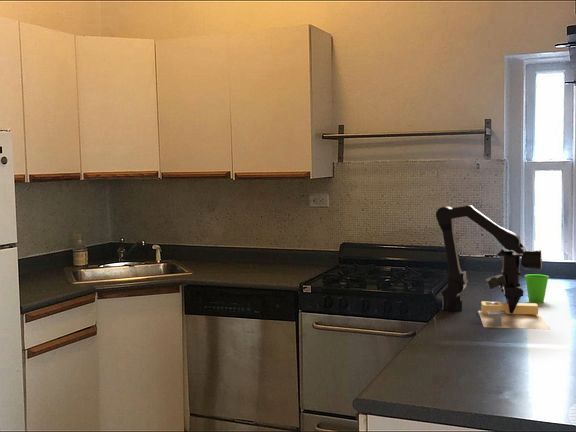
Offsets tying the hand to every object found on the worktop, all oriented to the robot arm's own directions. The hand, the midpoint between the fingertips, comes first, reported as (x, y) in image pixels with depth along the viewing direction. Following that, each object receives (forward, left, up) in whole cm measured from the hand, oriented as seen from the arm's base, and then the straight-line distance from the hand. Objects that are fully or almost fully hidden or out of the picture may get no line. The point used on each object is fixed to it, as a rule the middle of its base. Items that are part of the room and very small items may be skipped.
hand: (510, 311), depth 249 cm
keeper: (-7, -16, -1) cm, 17 cm away
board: (0, -9, -2) cm, 9 cm away
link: (0, 0, 0) cm, 1 cm away
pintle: (-6, 0, -1) cm, 7 cm away
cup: (+13, +24, -2) cm, 28 cm away
